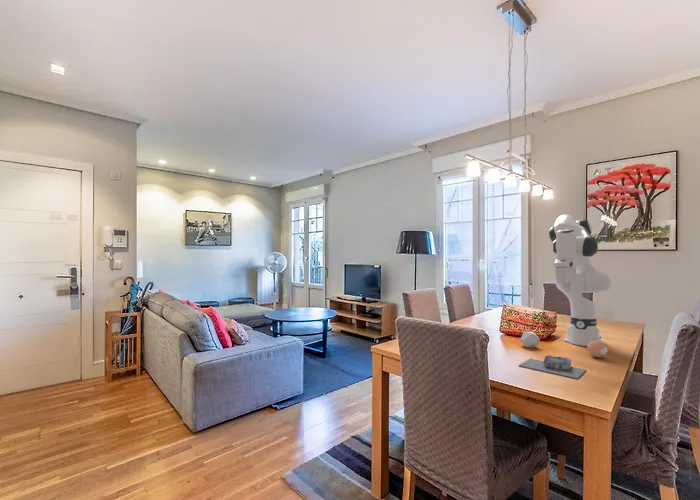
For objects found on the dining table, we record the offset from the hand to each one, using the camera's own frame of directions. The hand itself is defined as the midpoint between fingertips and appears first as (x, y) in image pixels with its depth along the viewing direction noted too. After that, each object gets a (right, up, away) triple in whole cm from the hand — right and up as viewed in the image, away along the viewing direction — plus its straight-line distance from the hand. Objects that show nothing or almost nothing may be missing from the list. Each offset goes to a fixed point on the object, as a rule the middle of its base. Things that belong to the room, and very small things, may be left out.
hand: (567, 291), depth 163 cm
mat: (-18, -31, -17) cm, 40 cm away
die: (-9, -32, +17) cm, 37 cm away
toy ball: (+13, -31, -2) cm, 34 cm away
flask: (-12, -29, -12) cm, 33 cm away
